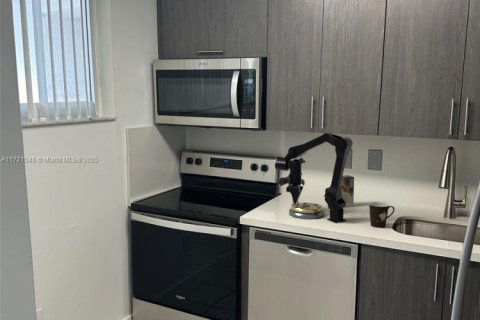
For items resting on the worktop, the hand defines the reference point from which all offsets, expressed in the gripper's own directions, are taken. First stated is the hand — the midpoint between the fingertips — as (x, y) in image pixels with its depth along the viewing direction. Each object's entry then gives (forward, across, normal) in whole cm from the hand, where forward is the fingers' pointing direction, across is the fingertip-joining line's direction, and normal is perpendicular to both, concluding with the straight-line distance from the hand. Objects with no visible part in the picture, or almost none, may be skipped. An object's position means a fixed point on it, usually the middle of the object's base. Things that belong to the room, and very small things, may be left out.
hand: (295, 202), depth 219 cm
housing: (+6, +1, +5) cm, 8 cm away
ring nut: (+3, +1, +5) cm, 6 cm away
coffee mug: (+6, +10, +41) cm, 43 cm away
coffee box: (+7, -23, +21) cm, 32 cm away
